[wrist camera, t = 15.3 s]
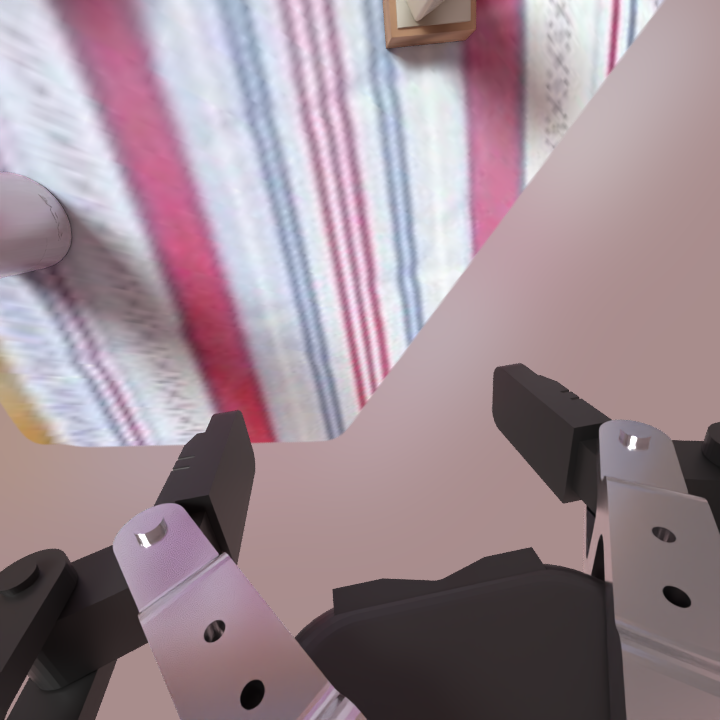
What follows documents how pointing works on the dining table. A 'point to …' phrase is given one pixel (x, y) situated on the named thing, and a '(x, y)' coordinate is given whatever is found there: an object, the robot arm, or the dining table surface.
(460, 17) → the wooden framed mirror
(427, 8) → the skincare box
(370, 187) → the dining table surface
